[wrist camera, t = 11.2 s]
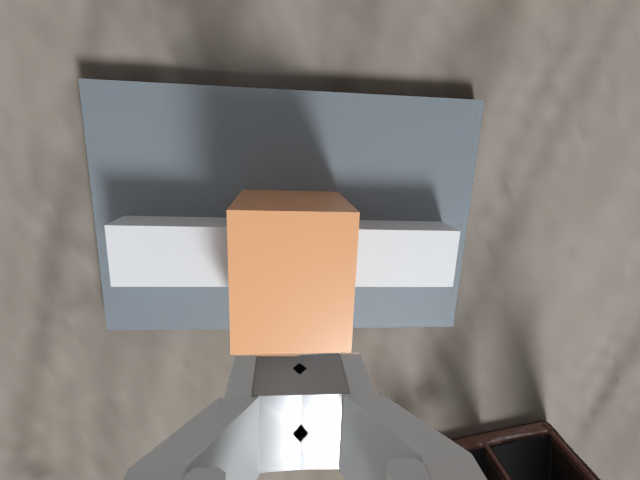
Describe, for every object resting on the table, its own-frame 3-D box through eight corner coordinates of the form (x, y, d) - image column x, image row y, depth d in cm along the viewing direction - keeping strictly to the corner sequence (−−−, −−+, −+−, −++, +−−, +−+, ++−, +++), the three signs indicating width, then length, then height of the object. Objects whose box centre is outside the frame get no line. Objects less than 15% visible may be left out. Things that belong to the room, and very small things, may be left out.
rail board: (475, 101, 21) (509, 94, 18) (446, 319, 24) (471, 346, 21) (88, 81, 19) (49, 69, 16) (114, 321, 22) (86, 352, 19)
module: (337, 191, 20) (360, 212, 14) (332, 296, 22) (351, 352, 16) (242, 189, 20) (226, 210, 14) (244, 296, 21) (230, 354, 15)
